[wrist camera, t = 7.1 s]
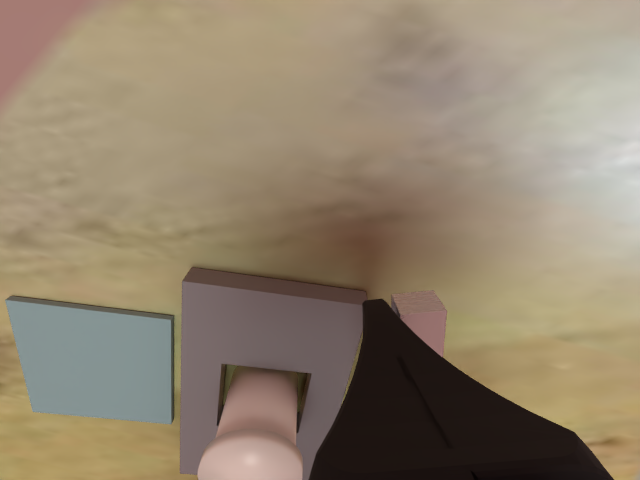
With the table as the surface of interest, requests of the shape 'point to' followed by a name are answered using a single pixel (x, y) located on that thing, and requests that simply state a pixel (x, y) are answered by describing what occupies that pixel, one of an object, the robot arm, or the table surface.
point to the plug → (256, 429)
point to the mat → (95, 360)
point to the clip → (423, 316)
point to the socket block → (264, 350)
